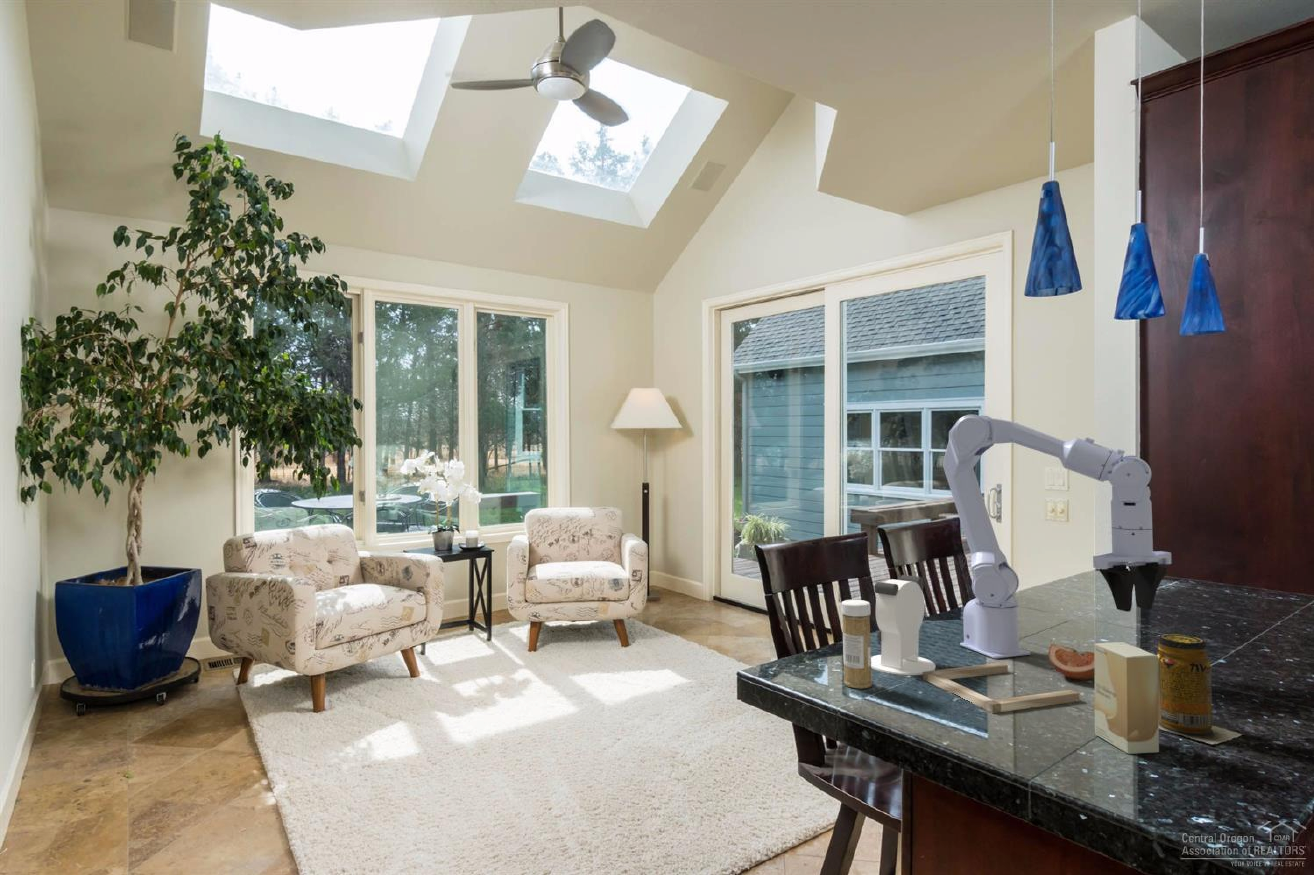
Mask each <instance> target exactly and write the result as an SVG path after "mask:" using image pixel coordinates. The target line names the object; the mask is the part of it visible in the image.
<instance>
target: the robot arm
mask: <svg viewBox="0 0 1314 875" xmlns="http://www.w3.org/2000/svg"><path fill="white" fill-rule="evenodd" d="M1011 443H1012V444H1013V443H1014V444H1016V445H1018V446H1021V447H1026V448H1028V449H1031V450H1033V451H1034V450H1035V451H1036V452H1037V451H1038V452H1040V453H1043V454H1047V455H1049V456H1052V457H1055V458H1058V459H1059V460H1060V462H1061V464H1062V466H1063V468H1064V469H1066V470H1069V471H1071V472H1075V473H1077V474H1080V475H1081V476H1082V475H1083V476H1086V477H1088V478H1089V479H1094V480H1096V481H1098V482H1106V481H1108V482H1109V483H1110V485H1111V486H1112V487H1111V494H1112V497H1111V500H1110V517H1111V523H1110V524H1111V552H1108V553H1104V554H1099V555H1094V556H1092V562H1093V563H1092V566H1093V568H1096V569H1099V573H1100V574H1101V575H1102V576H1103V578H1104V580H1105V581H1106V583H1107V585H1108V587H1109V589H1110V592H1111V595H1112V598H1113V602H1114V604H1115V607H1116V610H1118V611H1123V612H1126V613H1127V612H1128V613H1129V612H1131V611H1132V606H1133V590H1134V596H1135V603H1136V606H1137V608H1140V609H1144V610H1152V608H1153V604H1154V600H1155V598H1156V594H1157V590H1158V588H1159V586H1160V584H1161V582H1162V581H1163V579H1164V577H1165V576H1166V575H1167V573H1168V568H1167V567H1166V566H1161V565H1163V564H1164V565H1171V564H1172V552H1169V551H1162V550H1159V551H1158V550H1157V551H1155V550H1154V548H1153V547H1154V544H1153V542H1154V540H1153V538H1154V537H1153V512H1152V508H1153V507H1152V500H1151V499H1150V498H1151V489H1150V486H1148V484H1150V483H1151V478H1152V469H1151V467H1150V465H1149V464H1148V463H1147V462H1146V460H1144V459H1142V458H1139V457H1138V456H1136V455H1125V456H1124V454H1125V450H1123V449H1120V448H1118V449H1117V450H1115V449H1112V448H1108V447H1106V446H1102V445H1100V444H1097V443H1095V439H1093V438H1090V437H1087V436H1086V437H1084V439H1082V438H1080V437H1077V438H1076V437H1075V438H1074V439H1071V440H1069V441H1065V440H1063V439H1060V438H1057V437H1054V436H1052V435H1049V434H1046V433H1044V432H1041V431H1039V430H1036V429H1033V428H1031V427H1028V426H1026V425H1023V424H1020V423H1018V422H1014V421H1010V420H1006V419H1001V418H1000V419H999V418H993V417H991V416H988V415H977V414H967V415H964V416H962V417H960V418H959V419H957V421H956V422H955V424H954V425H953V426H952V428H951V429H950V430H949V431H948V443H947V446H946V449H945V453H944V458H943V461H942V465H943V466H942V467H943V470H944V474H945V477H946V480H947V483H948V486H949V489H950V492H951V495H952V499H953V500H954V501H953V502H954V505H955V509H956V511H957V514H958V517H959V520H960V523H961V527H962V530H963V533H964V536H965V538H966V542H967V546H968V548H969V551H970V555H971V559H970V561H971V562H970V569H971V572H972V583H971V589H972V593H973V595H974V596H975V598H974V599H973V598H972V599H971V600H969V601H968V602H966V605H965V606H964V607H963V608H964V609H963V613H962V620H963V642H960V643H959V644H960V645H959V646H962V647H963V648H965V649H969V650H972V651H974V652H977V653H979V654H982V655H984V656H987V657H990V658H992V659H1002V658H1003V659H1004V658H1012V657H1013V658H1014V657H1019V656H1020V657H1021V656H1029V655H1031V651H1029V650H1026V649H1024V648H1021V647H1020V644H1019V643H1020V642H1019V641H1020V640H1019V638H1020V636H1019V635H1020V634H1019V602H1018V601H1017V599H1016V598H1015V596H1014V594H1015V593H1016V592H1017V590H1018V588H1019V586H1020V585H1019V584H1020V580H1019V576H1018V574H1017V572H1016V571H1015V569H1013V568H1012V567H1011V566H1010V565H1009V562H1008V560H1007V557H1006V555H1005V554H1004V553H1003V551H1002V550H1001V548H1000V545H999V543H998V540H997V536H996V534H995V530H994V526H993V524H992V521H991V518H990V515H989V512H988V509H987V506H986V502H985V500H984V497H983V494H982V490H981V488H980V485H979V482H978V478H977V475H976V472H975V470H974V469H975V468H974V467H975V466H976V464H977V463H978V461H979V460H980V459H981V457H982V456H983V455H984V453H985V452H986V451H988V450H990V449H991V447H993V446H994V445H995V444H996V445H997V444H1011ZM1127 567H1128V568H1127Z"/></svg>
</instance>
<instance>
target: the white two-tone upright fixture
mask: <svg viewBox="0 0 1314 875" xmlns="http://www.w3.org/2000/svg"><path fill="white" fill-rule="evenodd" d="M924 582H925V581H924V578H923V577H922V576H915V575H907V574H901V576H900V578H899V579H893V578H891V579H888V580H886V581H884V582H882V581H881V582H880V581H876V582H875V583H874V592H875V594H877V595H876V599H875V600H876V601H875V606H874V609H875V621H876V624H877V627H878V629H879V630H878V631H877V634H876V635H877V636H876V639H877V642H878V644H881V649H880V650H881V653H880V654H877V655H873V656H871V669H873V670H876V671H878V672H881V673H885V672H886V673H885V674H890V673H891V675H899V676H923V672H926V671H934V670H936V669H935V668H936V664H935V663H934V662H933V661H932V660H929V659H927V658H925V657H922V656H919V641H920V640H919V637H920V635H919V634H920V633H919V631H920V628H921V627H922V624H923V620H924V616H925V611H926V610H925V599H924V598H925V597H924V594H923V590H924V587H925V583H924Z"/></svg>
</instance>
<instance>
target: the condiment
mask: <svg viewBox="0 0 1314 875" xmlns="http://www.w3.org/2000/svg"><path fill="white" fill-rule="evenodd" d="M1157 641H1158V648H1157V649H1158V652H1159V653H1158V654H1156V655H1157V656H1158V686H1159V730H1161V731H1165V732H1168V733H1172V734H1175V735H1181V736H1183V737H1186V738H1190V739H1191V740H1195V741H1199V742H1204V743H1206V744H1210V745H1217V744H1220V743H1224V742H1227V741H1231V740H1233V739H1234V738H1238V737H1240V736H1242V735H1243V734H1241V733H1238V732H1236V731H1232V730H1228V729H1226V728H1222V727H1219V726H1216V725H1214V724H1213V702H1212V698H1213V696H1212V671H1211V669H1212V667H1211V663H1210V661H1209V660H1208V652H1207V642H1206V641H1205V640H1203V639H1202V638H1199V637H1194V636H1191V635H1185V634H1176V633H1175V634H1174V633H1173V634H1171V633H1169V634H1162V635H1159V637H1158V640H1157Z"/></svg>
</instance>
